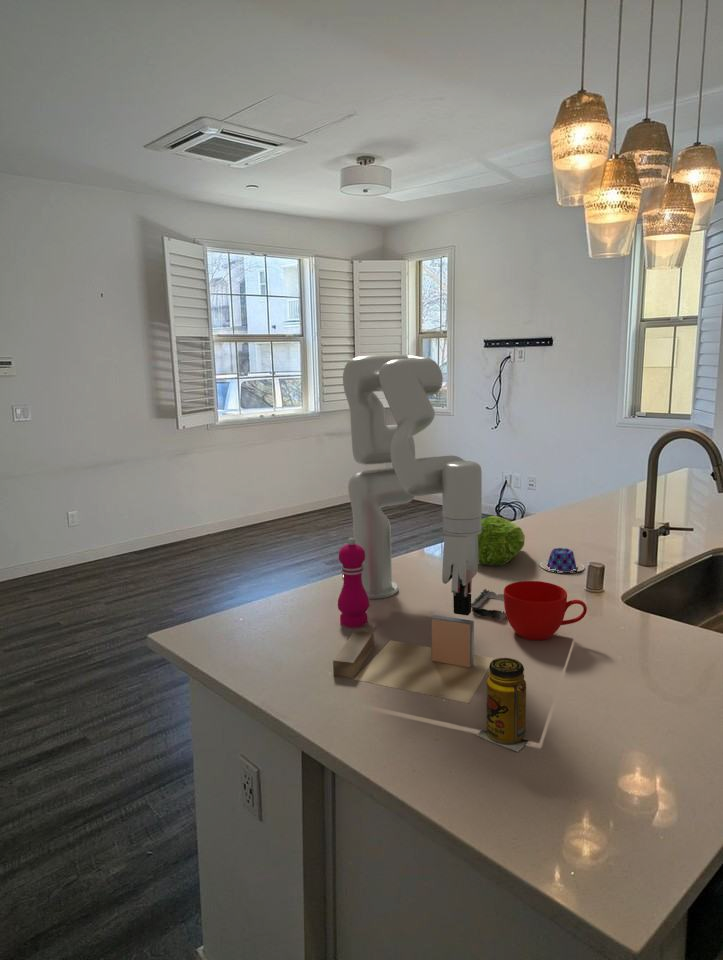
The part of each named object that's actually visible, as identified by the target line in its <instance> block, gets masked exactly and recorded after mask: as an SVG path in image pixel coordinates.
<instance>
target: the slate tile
mask: <svg viewBox="0 0 723 960" xmlns="http://www.w3.org/2000/svg"><path fill="white" fill-rule="evenodd" d="M430 622H431V623H430V626H431V629H430V631H431V636H430V637H431V639H430V640H431V646H430V647H431V652H432V661H435V662H441V663H446V664H452V665H457V666H463V667H468V668H472V666H473V665H474V655H475V654H474V649H475V648H474V647H475V645H474V644H475V643H474V639H475V638H474V637H475V636H474V635H475V634H474V633H475V621H474V620H470V619H465V618H464V619H463V618H458V617H451V616H445V615H437V614H433V615H432V616H431V619H430Z"/></svg>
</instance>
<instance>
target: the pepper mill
mask: <svg viewBox="0 0 723 960" xmlns="http://www.w3.org/2000/svg"><path fill="white" fill-rule="evenodd" d="M338 560H339V562H340V564H341V566H340V568H341V569H340V571H341V573H343V575H344V581H343V585H342V587H341V588H342V589H341V591H340V593H339V595H338V598H337V609H338V611H339V612H340V615H339V618H340V620H339V621H340V624H341V625H342V626H343V627H347V628H360V627H364V626H365V625H366V624H368V622H369V621H368V619H369V618H368V613H367V611H368V609H369V608H370V599H368V596H367V593H366V591H365V589H364V587H363V584H362V577H361V576H362V572H363V571H364V570H363V565H362V563H363V562H364V560H365V551H364V549H363V548H362V547H361V546H359V545H357V544H355V539H354V537H349V538H348V539H347V544H345V545H343V546H341V548H340V550H339V552H338Z"/></svg>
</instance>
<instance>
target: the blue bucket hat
mask: <svg viewBox="0 0 723 960" xmlns="http://www.w3.org/2000/svg"><path fill="white" fill-rule="evenodd" d="M548 557H549V558H548V559H546V560H543V561H541V562H540V563H539V566H540V567H541V568H542V569H544V570H546V571H549V572H551V571H550V570H547V569H545V568H544V567H543V566H542V564H543V562H546V561H548V564H547V566H548V567H550V569H556V570H559V571H571V570H573V569H576V568H577V567H576V562H577V563H580V562H578V561H576V559H575V555H574V551H573V550H571V549H569V548H567V547H565V548H564V547H555V548H553V549H552V550H551V552H550V554H549V556H548ZM580 564H581V565H582V566H583V567H584V568H583V569H582V570H580V571H577V572H576V573H578V572H581V571H583V570H585V565H583V564H582V563H580ZM573 571H574V570H573ZM573 571H572V572H570V573H571V574H572V573H575V572H573ZM552 572H553V573H554V570H553V571H552ZM558 573H563V572H558ZM570 573H569V574H570ZM563 574H564V573H563Z"/></svg>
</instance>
